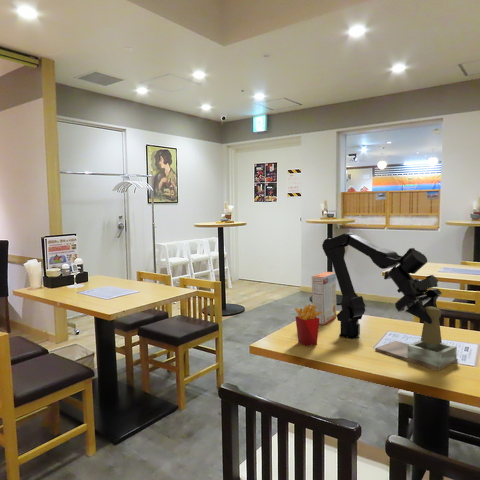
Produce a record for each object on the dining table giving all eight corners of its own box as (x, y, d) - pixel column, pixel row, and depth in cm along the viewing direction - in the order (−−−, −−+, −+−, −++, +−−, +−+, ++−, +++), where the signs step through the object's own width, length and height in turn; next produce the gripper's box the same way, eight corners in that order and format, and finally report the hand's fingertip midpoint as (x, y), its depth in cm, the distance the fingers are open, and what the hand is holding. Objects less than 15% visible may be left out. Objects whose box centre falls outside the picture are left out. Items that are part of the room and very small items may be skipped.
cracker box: (324, 316, 183) (324, 271, 182) (336, 317, 180) (336, 272, 178) (311, 323, 172) (311, 275, 170) (324, 325, 168) (324, 276, 167)
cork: (445, 343, 124) (446, 309, 123) (427, 344, 123) (428, 310, 123) (434, 337, 130) (435, 304, 129) (416, 338, 129) (417, 305, 129)
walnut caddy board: (375, 350, 138) (375, 336, 137) (396, 343, 144) (396, 329, 144) (437, 371, 120) (437, 354, 119) (457, 361, 126) (457, 346, 126)
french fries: (294, 342, 148) (294, 302, 147) (313, 338, 151) (313, 300, 150) (307, 349, 140) (307, 307, 139) (327, 346, 143) (327, 305, 142)
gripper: (404, 270, 123) (438, 312, 115) (436, 264, 133) (469, 303, 125) (382, 291, 130) (412, 332, 122) (414, 284, 141) (444, 321, 132)
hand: (435, 321), depth 125 cm, fingers closed on cork, 5 cm apart
